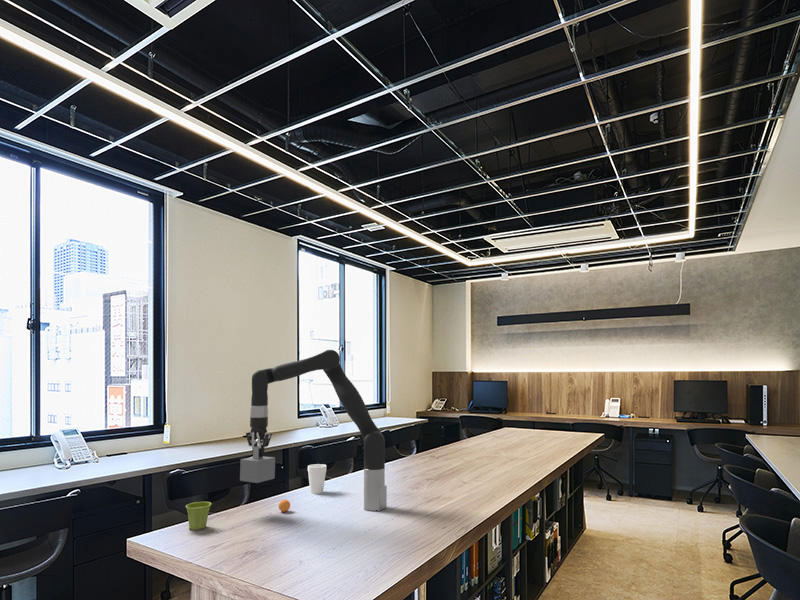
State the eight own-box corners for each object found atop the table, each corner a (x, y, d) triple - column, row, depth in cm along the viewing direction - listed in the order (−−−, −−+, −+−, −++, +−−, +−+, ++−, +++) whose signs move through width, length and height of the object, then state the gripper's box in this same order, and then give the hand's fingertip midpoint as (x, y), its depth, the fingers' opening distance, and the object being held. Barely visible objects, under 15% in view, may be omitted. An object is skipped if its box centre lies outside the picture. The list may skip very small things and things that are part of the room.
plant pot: (206, 531, 193) (207, 507, 195) (181, 532, 193) (182, 508, 194) (213, 523, 203) (214, 501, 204) (189, 524, 202) (190, 502, 203)
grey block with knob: (274, 478, 219) (275, 445, 221) (257, 483, 211) (258, 448, 213) (257, 476, 224) (258, 444, 226) (239, 480, 216) (241, 447, 218)
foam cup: (322, 495, 248) (322, 467, 250) (304, 494, 250) (304, 467, 252) (328, 490, 258) (328, 464, 260) (311, 490, 260) (311, 463, 261)
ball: (292, 511, 220) (292, 499, 221) (284, 513, 216) (284, 501, 217) (284, 509, 223) (284, 497, 224) (275, 512, 219) (276, 500, 219)
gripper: (277, 415, 221) (276, 456, 219) (254, 414, 228) (252, 454, 226) (264, 417, 215) (263, 459, 212) (241, 416, 222) (239, 456, 219)
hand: (258, 456), depth 219 cm, fingers closed on grey block with knob, 3 cm apart
